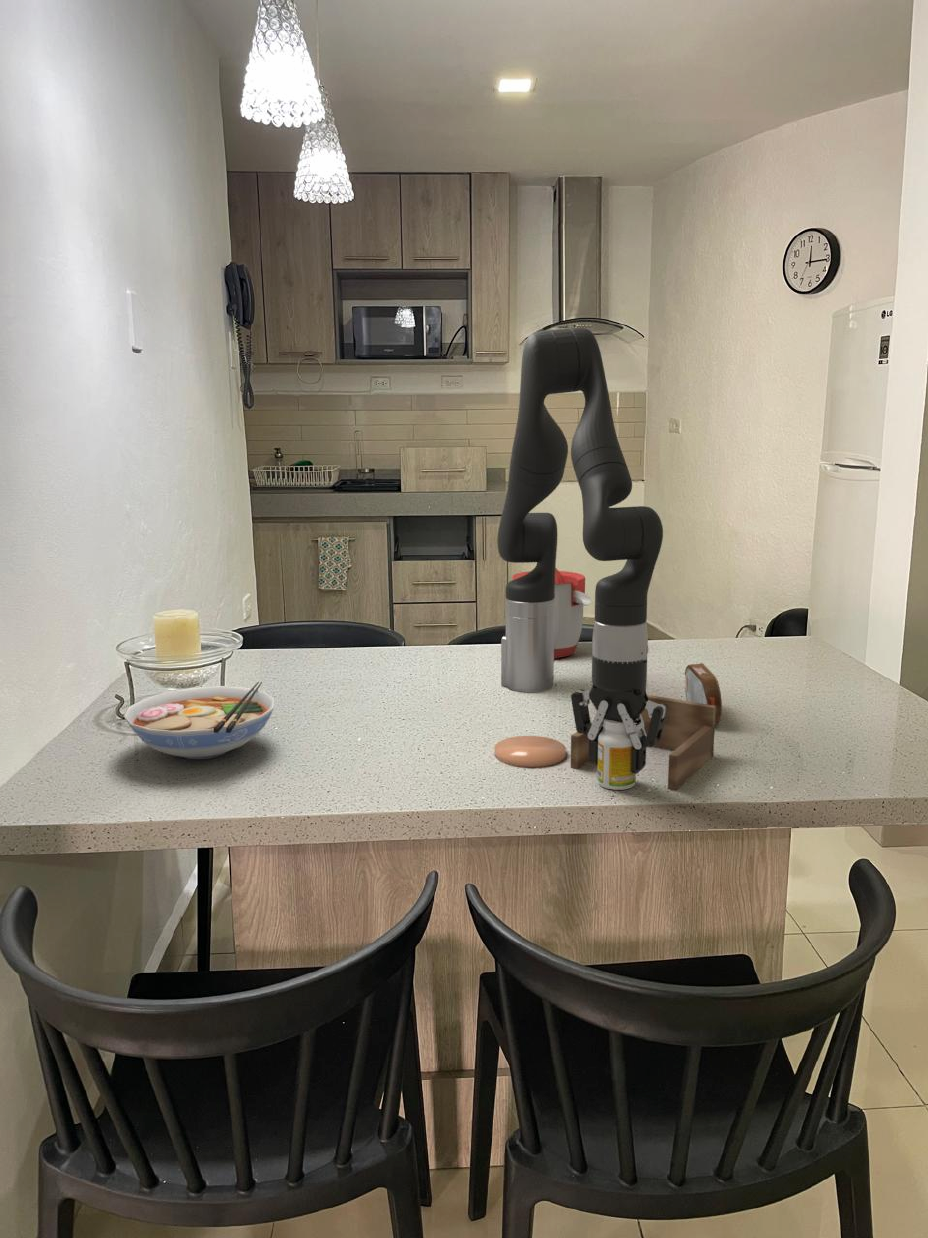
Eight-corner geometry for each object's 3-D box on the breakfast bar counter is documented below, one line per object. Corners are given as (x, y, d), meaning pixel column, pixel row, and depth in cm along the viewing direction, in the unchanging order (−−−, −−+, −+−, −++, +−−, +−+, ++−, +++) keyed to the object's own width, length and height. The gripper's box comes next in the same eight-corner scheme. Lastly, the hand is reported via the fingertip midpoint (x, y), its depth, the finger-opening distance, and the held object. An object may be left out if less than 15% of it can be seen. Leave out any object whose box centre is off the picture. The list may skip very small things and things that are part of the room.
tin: (722, 730, 157) (725, 681, 155) (703, 730, 157) (705, 681, 155) (698, 702, 172) (700, 657, 170) (681, 702, 172) (683, 657, 170)
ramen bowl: (159, 725, 162) (155, 679, 160) (293, 725, 161) (290, 679, 159) (100, 782, 137) (94, 728, 135) (257, 782, 137) (253, 728, 135)
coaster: (481, 758, 145) (481, 752, 145) (516, 737, 154) (517, 731, 154) (544, 772, 139) (544, 766, 139) (577, 750, 148) (578, 744, 148)
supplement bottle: (642, 782, 135) (644, 718, 133) (621, 794, 131) (623, 728, 129) (611, 772, 139) (612, 709, 137) (589, 784, 135) (590, 719, 133)
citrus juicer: (570, 667, 195) (572, 571, 191) (498, 655, 205) (498, 564, 200) (603, 650, 208) (605, 560, 204) (533, 641, 217) (534, 554, 213)
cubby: (570, 767, 141) (571, 716, 140) (614, 736, 154) (616, 689, 153) (675, 790, 133) (678, 736, 131) (713, 755, 146) (715, 705, 144)
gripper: (560, 651, 131) (559, 766, 135) (659, 666, 124) (654, 787, 128) (584, 639, 137) (582, 749, 141) (679, 652, 130) (674, 768, 134)
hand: (616, 766), depth 134 cm, fingers closed on supplement bottle, 5 cm apart
